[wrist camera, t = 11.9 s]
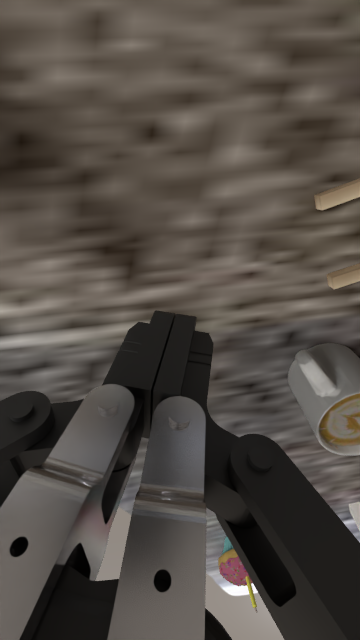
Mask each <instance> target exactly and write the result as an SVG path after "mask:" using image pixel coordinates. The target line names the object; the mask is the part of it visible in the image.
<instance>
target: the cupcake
mask: <svg viewBox="0 0 360 640" xmlns="http://www.w3.org/2000/svg"><path fill="white" fill-rule="evenodd" d="M219 569H220V574H221V575H222V576H223V578H225V579H226V580H227V581H229V582H230V583H233V584H235V585H237V586H241V585H243V586H245V585H247V586H248V590H249V594H250V598H251V601H252V605H253V608H255V611H256V612H257V610H256V607H257V605H256V602H255V598H254V594H253V590H252V586H251V583H253V582H252V580H251V578H250V577H249V575H248V573H247V571H246V569H245V568H244V566H243V564H242V562H241V560H240V559H239V557H238V555H237V553H236V551H235V550H234V548H233V546H232V544H231V542H230V541H229V539H228V537H226V538H225V544H224V550H223V553H222V555H221V557H219Z"/></svg>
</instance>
